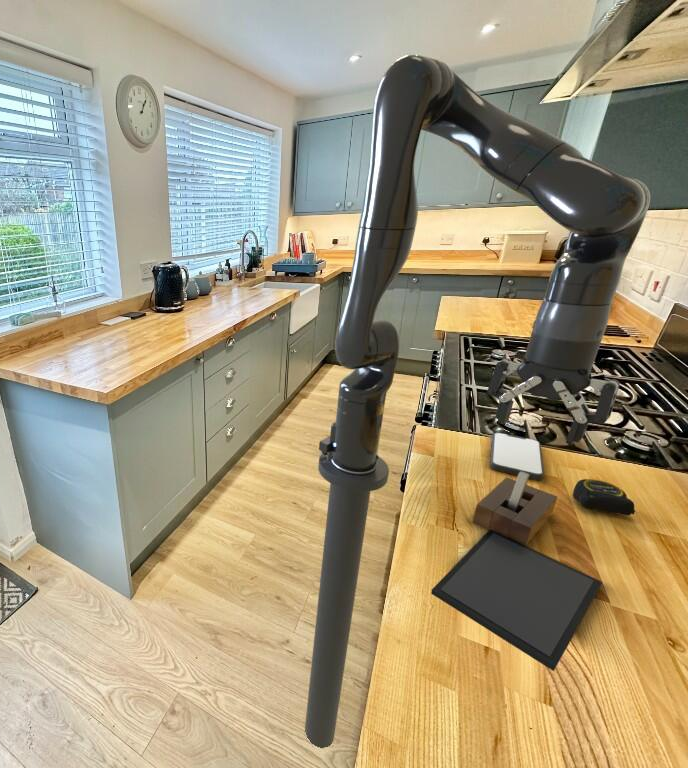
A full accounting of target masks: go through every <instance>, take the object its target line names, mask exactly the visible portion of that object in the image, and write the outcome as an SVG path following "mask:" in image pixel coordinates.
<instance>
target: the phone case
mask: <svg viewBox="0 0 688 768" xmlns="http://www.w3.org/2000/svg"><path fill="white" fill-rule="evenodd" d="M543 463H544V462H543V452H542V444H541V442H540V441H539V440H537V439H533V438H527V437H523V436H518V435H513V434H507V433H503V432H493V433H492V436H491V442H490V460H489V467H490V468H491V469H492V470H494V471H498V472H502V473H505V474H508V475H509V474H510V475H514V476H518V474H519V473H520V472H521V471H522V472H525V473H527V474H530V475H529V478H528V479H529V480H535V481H541V480H543V478H544V475H545V471H544V464H543Z"/></svg>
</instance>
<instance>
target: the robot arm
mask: <svg viewBox="0 0 688 768" xmlns="http://www.w3.org/2000/svg"><path fill="white" fill-rule="evenodd" d="M371 123H372V124H371V140H370V154H369V163H368V171H367V176H366V181H365V188H364V193H363V194H364V195H363V201H362V209H361V214H360V219H359V221H358V222H359V223H358V228H357V235H356V241H355V245H354V255H353V262H352V267H351V273H350V277H349V282H348V288H347V293H346V297H345V300H344V305H343V308H342V312H341V315H340V320H339V323H338V325H337V330H336V334H335V340H334V341H335V342H334V352H335V356H336V359H337V361H338V363H339V364H340V366H341V367H343V368H344V369H347V370H353V371H352V372H351V373H349V374H347V376H345V377H344V378H342V379H341V381H340V382H339V386H338V396H337V405H336V406H337V407H336V415H335V421H334V422H333V423H332V424H331V425H330V434H329V436H327V437H325V438H324V439H321V440H319V442H318V443H319V445H318V450H319V451H320V452H321V454H322V453H323V455H324V456H325V455H328V461H330V462H332V464H333V466H334V467H335V468H337V469H338V470H340V471H342V472H344V473H347V474H352V475H367V474H370V473H372V472H374V471H375V469H376V461H377V460H378V458H379V457H380V456H379V455H378V451H379V445H380V438H381V432H382V425H383V419H384V412H385V405H386V399H387V394H388V391H389V390H390V389H391V387H392V384H393V381H394V376H395V372H396V369H397V368H396V367H397V364H398V358H399V353H400V335H399V332H398V329H397V328H396V326H395V325H394V324H393V323H391V322H390V321H389V320H385V319H375V315H376V312H377V309H378V306H379V304H380V302H381V300H382V298H383V296H384V295H385V293H386V291H387V290H388V289H389V288H390V286H391V284H392V283H393V281H395V279H396V277H397V276H398V275H399V274H400V272H401V271H402V269H403V268H404V266H405V264H406V262H407V260H408V259H409V255H410V254H411V249H412V245H413V241H414V237H415V233H416V228H417V222H418V215H419V203H418V194H417V187H416V179H415V178H416V177H415V161H416V153H417V148H418V145H419V140H420V135H421V132H422V131H424V132H427V133H430V134H433V135H435V136H438V137H439V138H443V139H445V140H447V141H448V142H450V143H452V144H453V145H455V146H456V147H457V148H460V149H461V150H462V151H463V152H464V153H465V154H467V156H468V157H469V158H470V159H471V160H472V161H473V162H474V163H475V165H477V166H478V167H479V168H480V169H482V171H484V172H485V173H486V174H488V176H490V177H491V178H494V180H496V181H498V182H499V183H501V184H502V185H504V186H505V187H507V188H508V189H510V190H511V191H513V192H515V194H516V193H517V195H520V196H521V197H523V198H525V199H528V200H529V201H531V202H532V203H533V204H535V205H536V206H537V207H538V208H539V209H540V210H541V211H542V212H543V213H545V214H546V215H547V216H548V217H549V218H551V219H552V220H553V221H554V222H555V223H557V224H558V225H560V226H561V227H563V228H564V229H566V230H567V231H569V233H568V236H567V240H566V243H565V246H564V250H563V253H562V254H561V256H560V258H559V259H558V260H557V261H556V262H555V264H554V266H553V267H552V270H551V272H550V276H549V279H548V282H547V285H546V289H545V293H544V295H543V300H542V302H541V304H540V306H539V308H538V311H537V313H536V316H535V319H534V321H533V324H532V327H531V328H532V330H531V334H530V337H529V340H528V344H527V347H526V350H525V354H524V358H523V361H522V362H521V363H518V362H514V361H512V360H511V359H510V358H507V357H506V358H503V359H501V360H500V361H497V362H496V364H495V367H494V370H493V373H492V376H491V379H490V381H489V385H488V387H487V391H486V393H487V395H488V396H490V397H494V398H496V399H497V400H498V405H497V409H496V413H495V418H496V420H498V424H501V425H505V424H506V423H508V422H509V420H510V416H511V412H512V409H513V406H514V402H515V400H513V399H514V398H516V397H519V396H520V395H522V394H523V393H525V392H528V394H530V396H533V397H537V398H545V399H547V400H549V401H553V402H560V401H562V402H563V404H564V406H565V407H566V409H567V410H569V411H570V413H571V415H572V416H573V418H574V420H573V421H572V423H571V426H570V428H569V432H568V435H567V437H566V440H565V444H568V445H571V446H572V445H573V444H574V443H579V442H580V441H581V440H583V438H584V437H585V434H586V431H587V428H588V426H589V424H598V425H603V424H605V423H606V422H607V421H608V420H609V419H610V418H611V416H612V412H613V408H614V405H615V403H616V399H617V395H618V392H619V388H620V381H619V380H618V379H615V378H613V379H609V380H603V379H597V378H593V377H592V368H593V366H594V363H595V361H596V357H597V354H598V351H599V349H600V346H601V343H602V340H603V338H604V335H605V333H606V329H607V327H608V323H609V320H610V314H611V308H612V304H613V301H614V298H615V295H616V292H617V290H618V287H619V284H620V281H621V278H622V274H623V270H624V266H625V262H626V259H627V258H628V255H629V254H630V251H631V249H632V247H633V245H634V243H635V241H636V239H637V237H638V234H639V232H640V230H641V228H642V225H643V224H644V221H645V218H646V216H647V213H648V210H649V208H650V203H651V192H650V190H649V188H648V187H647V185H646V184H645V183H644V182H642V181H641V180H639V179H637V178H634V177H628V176H623V175H621V174H618V173H617V172H614V171H612V170H610V169H608V168H607V167H605V166H602V165H600V164H599V163H596V162H595V161H593V160H591V159H589V158H587V157H585V156H583V154H582V152H581V151H580V150H578V149H577V148H576V147H575V146H573V145H571V144H570V143H568V142H567V141H565V140H562V139H561V138H559V137H557V136H556V135H554V134H551V133H550V132H548V131H546V130H544V129H543V128H541V127H539V126H536V124H532V123H531V122H529V121H526V120H524V119H522V118H520V117H519V116H516V115H514V114H512V113H510V112H508V111H506V110H504V109H503V108H500V107H499V106H496V105H495V104H493V103H491V102H490V101H488V100H487V99H486V98H485V97H483V96H481V95H480V94H479V93H478V92H476V91H475V90H474V89H473V88H472V87H471V86H469V85H468V84H467V83H466V82H465V81H464V80H463V79H462V78H461V77H460V76H459V75H458V74H457V73H456V72H455V71H454V70H453V69H451V68H450V66H449V65H448V64H446V62H444V61H441V60H439V59H435V58H431V57H428V56H425V55H420V54H408V55H405V56H403V57H402V56H401V57H400V58H399V59H397V60H395V62H393V63H392V64H391V65H390V66H389V67H388V69H387V70H386V71H385V72H384V74H383V76H382V78H381V79H380V81H379V84H378V86H377V89H376V93H375V97H374V101H373V111H372V122H371ZM514 371H515V372H516V374H517V375H518V377H519V379H520V381H521V383H519V384H518V385H516V386H514V387H513V388H511V389H510V390H508V391H507V390H506V389H504V384H505V381H506V378H507V376H509V375H511V374H513V372H514ZM589 387H590V388H592V389H593V390H594V391H593V393H594V395H595V396H598V397H599V399H598V403H597V406H596V409H595V411H591V410H590V408H589V407H588V405H587V404H586V400H585V398H584V396H583V394H582V392H583V391H584V390H586V389H587V388H589ZM328 452H329V454H327V453H328ZM378 456H379V457H378ZM376 459H377V460H376Z"/></svg>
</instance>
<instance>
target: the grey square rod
mask: <svg viewBox="0 0 688 768" xmlns="http://www.w3.org/2000/svg"><path fill="white" fill-rule="evenodd" d="M529 475H530V474H527V473H525V472H522V471H521V472H520V473H519V474H518V475H517V478H516V479H515V481H516V483H515V486H514V489H513V492H512V495H511V497H510V500H509V503H508V506H507V509H509V510H511V511H514V512H517V510H518V507H519V504H520V501H521V498H522V495H523V493H524V490H525V487H526V485H528V480H529V479H530V478H529Z"/></svg>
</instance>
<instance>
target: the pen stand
mask: <svg viewBox="0 0 688 768" xmlns="http://www.w3.org/2000/svg"><path fill="white" fill-rule="evenodd" d="M515 483H516V479H513V478H510V477H508V476H506V477H505V478H504V479H503V480H502V481H500V482H499V483H498V484H497V485H496V486H495V487H494V488H492V489H491V490H490V492H489V493H487V495H485V496H484V497H483V498H482V499H481V500H480V501H479V502H478V503H477V504H476V507H475V511H474V514H473V518H472V521H471V522H472V523H473V524H474V525H477V526H478V527H481V528H482V529H485V530H487V531H489V530H490V529H491V530H493V531H495V532H497V533H499V534H501V535H504V536H506V537H508V538H510V539H512V540H514V541H516V542H518V543H521V544H523V545H525V546H528V544H529V543H530V542H531V541H532V539H533V538H534V537H535V535H536V534H537V533H538V532H539V531H540V530H541V528H542V527H543V526H544V525H545V524H546V522H547V521H548V520H549V518H550V517H551V516H552V515H553V512H554V508H555V506H556V503H557V500H558V498H559V497H558V496H557V495H554V494H552V493H549V492H548V491H544V490H542V489H539V488H536V487H533V486H531V485H529V484H526V487H525V490H524V493H523V495H522V498H521V501H520V504H519V507H518V510H517V512H514V511H511V510H509V509H507V506H508V503H509V500H510V497H511V495H512V492H513V489H514V486H515Z"/></svg>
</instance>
